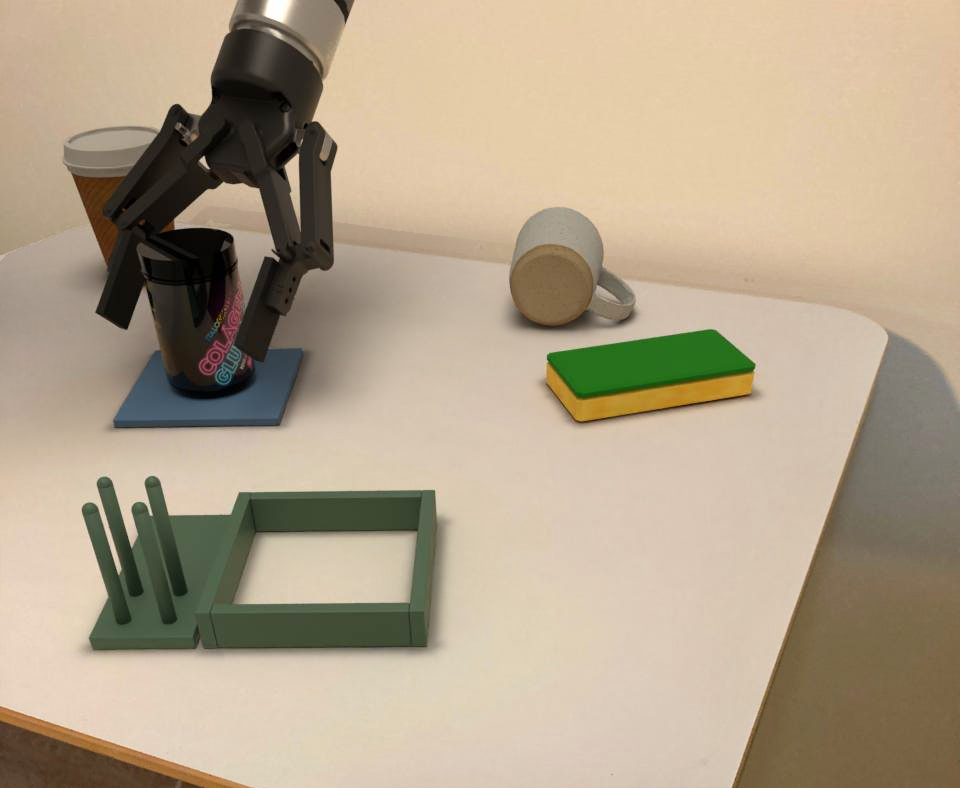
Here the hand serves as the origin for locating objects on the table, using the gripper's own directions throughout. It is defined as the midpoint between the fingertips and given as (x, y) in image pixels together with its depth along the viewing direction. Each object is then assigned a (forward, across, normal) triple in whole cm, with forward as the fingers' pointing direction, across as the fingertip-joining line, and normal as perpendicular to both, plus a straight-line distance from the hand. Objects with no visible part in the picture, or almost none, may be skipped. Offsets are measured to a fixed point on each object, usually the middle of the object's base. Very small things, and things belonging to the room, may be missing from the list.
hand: (177, 337), depth 75 cm
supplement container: (+2, 0, -5) cm, 5 cm away
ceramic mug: (-16, -18, -24) cm, 34 cm away
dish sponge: (-8, -30, -16) cm, 35 cm away
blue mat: (+2, 0, -5) cm, 6 cm away
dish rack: (+14, -20, +7) cm, 25 cm away
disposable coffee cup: (-10, +22, -17) cm, 30 cm away
